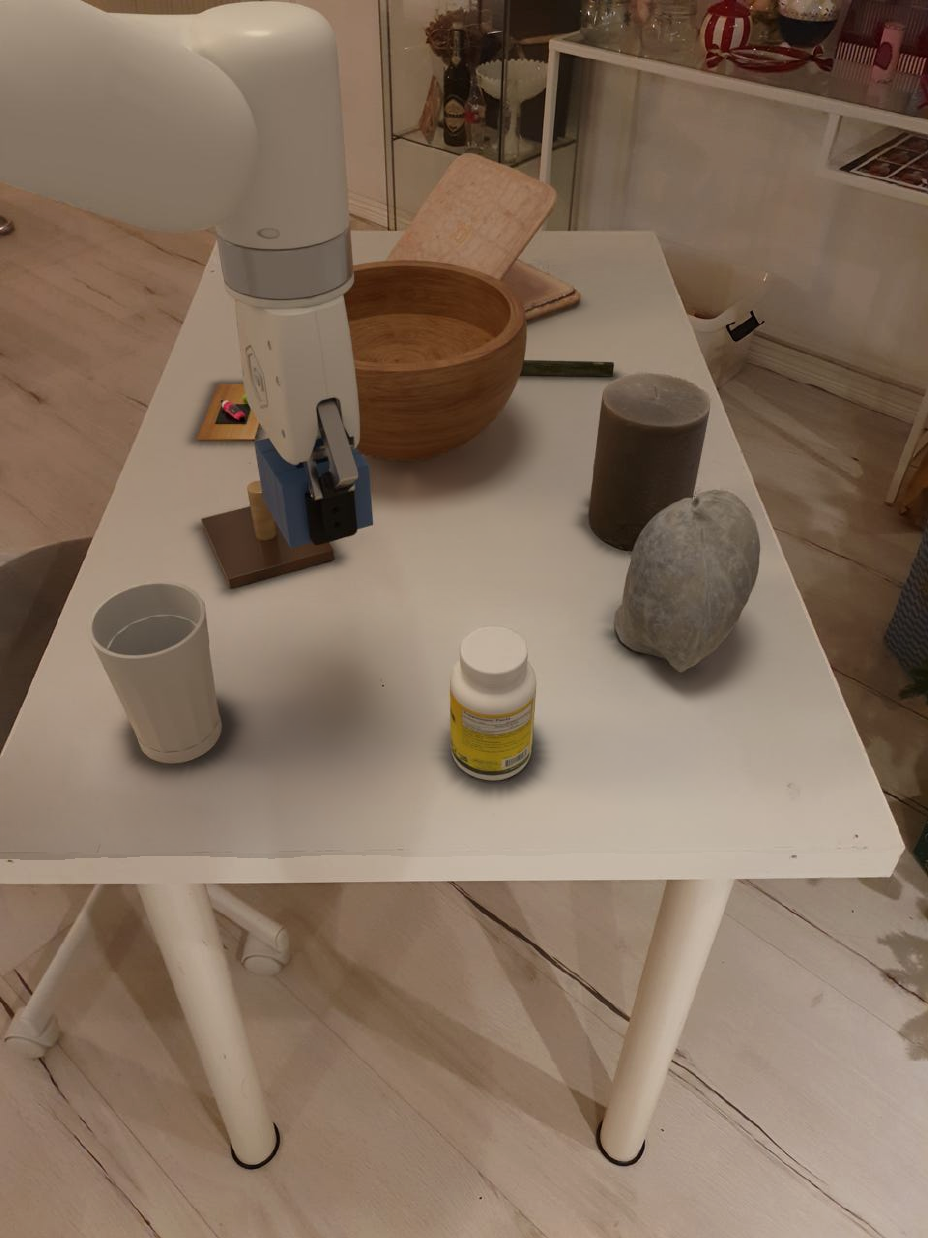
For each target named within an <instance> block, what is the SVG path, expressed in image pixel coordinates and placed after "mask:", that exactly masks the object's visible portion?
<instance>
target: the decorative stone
mask: <svg viewBox="0 0 928 1238" xmlns="http://www.w3.org/2000/svg"><path fill="white" fill-rule="evenodd" d="M751 512H752V511H751V510H750V509H749V507H748V506H747V504H746V503H745V502H744V501H743V500H742V499H741V498H740V497H738V496H737V495H736V494H734V493H732V492H729V491H728V490H727V491H726V490H722V489H711V490H706V491H702V492H700V493H697V495H695V496H693V499H692V498H684V499H682V500H680V501H678V502H675V503H672V504H671V505H669V506H668V507H666V508H665V509H663V510H662V511H660V512H659V513H657V514H656V515H655V516H654V517H653V518H652V519H651V520H650V521H649V522H648V523H647V525H646V526H645V527H644V529H643V530H642V531H641V533H640V535H639V537H638V539H637V541H636V543H635V546H634V549H633V551H631V557H630V562H629V565H628V567H627V573H626V576H625V581H624V586H623V592H622V599H621V604H620V606H618V608H617V609H616V610H615V612H614V624H615V632H616V635H617V637H618V639H619V641H620V642H621V643H622V644H623V645H625V646H626V647H627V648H628V649H630V650H632V651H634V652H637V653H641V654H646V655H649V656H654V657H658V658H661V659H662V660H665V661H668V663H669V665H670V666H671V667H672V668H673V669H674V670H675V671H677V672H678V673H684V672H686V671H687V670H688V669H690V668H693V667H694V666H696V665H697V664H698V663H699V662H700V661H701V660H702V659H704V658H707V657H708V656H709V655H711V654H712V653H714V652H715V651H716V650H717V648H718V647H719V646H721V644H722V643H723V641H724V640H725V639H726V638H727V636H728V635H729V634H730V632H731V631H732V630H733V628H734V626H735V625H736V623H737V622H738V621H739V620H740V617H741V615H742V613H743V610H744V609H745V607H746V605H747V603H748V601H749V600H750V597H751V594H752V592H753V590H754V587H755V584H756V582H757V577H758V573H759V568H760V556H761V555H760V554H761V542H760V534H759V530H758V526H757V524H756V520H755V519H754V516H753V514H752V513H751Z"/></svg>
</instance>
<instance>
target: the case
mask: <svg viewBox="0 0 928 1238" xmlns="http://www.w3.org/2000/svg"><path fill="white" fill-rule="evenodd" d="M557 203H558V192H557V191H556V189H555V188H554V187H553V186H552V185H550V184H548V183H546V182H544V181H541V180H540V179H536V178H535V177H532V176H529V175H528V174H526V173H524V172H523V171H520V170H518V169H516V168H513V167H511V166H509V165H506V164H503V163H500V162H498V161H494V160H491V159H489V158H486V157H485V156H482V155H480V154H478V153H473V152H465V153H462V154H460V155H459V156H458V157H456V158H455V159H454V160H452V162H451V164H450V165H449V166H448V168H447V170H446V171H445V172H444V174H443V175H442V177H441V179H440V180H439V181H438V183H437V184H436V186H435V187H434V188H433V190H432V192H431V193H430V194H429V195H428V197H427V199H426V200H425V202H423V204H422V206H421V208H419V211H418V212H417V213H416V215H415V216H414V218H413V219H412V220H411V222H410V223H409V225H408V227H406V229H405V231H404V232H403V234H402V235H401V236H400V238H399V240H398V241H397V242H396V244H395V245H394V247H393V248H392V249H391V251H390V253H389V254H388V256H386V258H385V260H384V261H396V260H416V261H431V262H440V263H447V264H453V265H458V266H463V267H466V268H470V269H474V270H477V271H480V272H483V273H485V274H488V275H490V276H492V277H494V278H496V279H498V280H500V281H502V282H503V283H505V284H506V285H508V286H509V287H510V288H512V289H513V290H514V291H515V292H516V293H517V294H518V296H519V297H520V299H521V300H522V302H523V305H524V308H525V314H526V321H528V320H531V319H535V318H538V317H540V316H543V315H546V314H548V313H551V312H555V311H558V310H561V309H563V308H566V307H569V306H572V305H574V304H576V303H578V302H579V301H580V299H581V293H580V292H579V290H578V289H576V288H575V287H574V286H573V285H571V284H570V283H568V282H565V281H563V280H561V279H558V278H556V277H554V276H552V275H550V273H548V272H546V271H543V270H542V269H540V268H538V267H535V266H533V265H531V264H529V263H527V262H524V261H522V260H520V259H519V257H520V256H521V254H522V253H523V252H524V250H525V249H526V247H527V246H528V245H529V243H530V242H531V241H532V239H533V238H534V237H535V236H536V234H537V233H538V232H539V230H540V229H541V227H542V226H543V225H544V224H545V222H546V221H547V219H548V218H549V216H551V214H552V212H553V211H554V210H555V207H556V205H557Z"/></svg>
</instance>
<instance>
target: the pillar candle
mask: <svg viewBox="0 0 928 1238" xmlns="http://www.w3.org/2000/svg"><path fill="white" fill-rule="evenodd" d="M711 401H712V399H711V397H710V395H709V394H708V392H707V391H706V390H705V389H702V388H700V387H699V386H698V385H697V384H695V383H694V382H690V381H689V380H687V379H685V378H681V377H677V376H673V375H669V374H665V373H653V372H647V371H642V372H640V371H639V372H635V373H634V374H628V375H624V376H621V377H619V378H616V379H614V380H612V381H611V382H609V383H608V384H607V385H606V386H605V387H604V389H603V391H602V395H601V403H600V412H599V420H598V428H597V437H596V445H595V452H594V460H593V462H594V463H593V468H592V481H591V488H590V496H589V497H590V499H589V505H588V515H587V516H588V523H589V526H590V528H591V530H592V532H593V533H594V534H595V535H596V536H597V537H598V538H599V539H601V540H602V541H604V542H606V543H609V544H610V545H612V546H614V547H616V548H619V549H621V550H626V551H631V552H633V549H634V546H635V543H636V541H637V539H638V537H639V535H640V533H641V531H642V530H643V529H644V527H645V526H646V525H647V523H648V522H649V521H650V520H651V519H652V518H653V517H654V516H655V515H656V514H657V513H659V512H660V511H662V510H663V509H665V508H666V507H668V506H669V505H671V504H672V503H675V502H678V501H680V500H682V499H684V498H692V499H693V498H694V495H695V494H694V493H695V490H696V485H697V479H698V473H699V468H700V463H701V459H702V458H701V457H702V453H703V449H704V442H705V438H706V433H707V426H708V423H709V417H710V411H711Z"/></svg>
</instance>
